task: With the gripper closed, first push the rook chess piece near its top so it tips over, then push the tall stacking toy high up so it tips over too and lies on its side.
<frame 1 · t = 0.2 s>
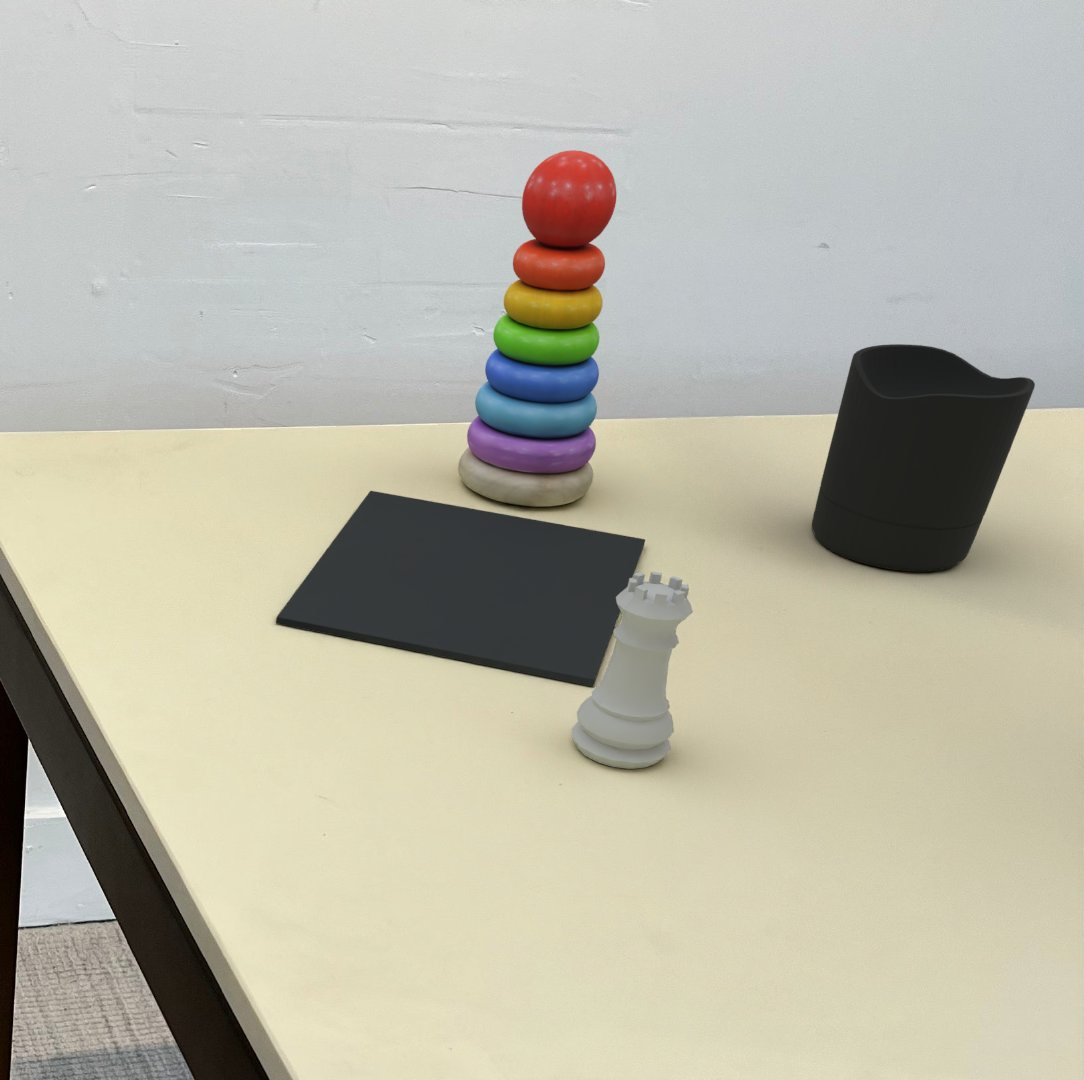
rook chess piece: (617, 752, 84), on the table
felt mat: (470, 582, 99), on the table
stacking toy: (521, 490, 111), on the table
pen holder: (885, 548, 106), on the table
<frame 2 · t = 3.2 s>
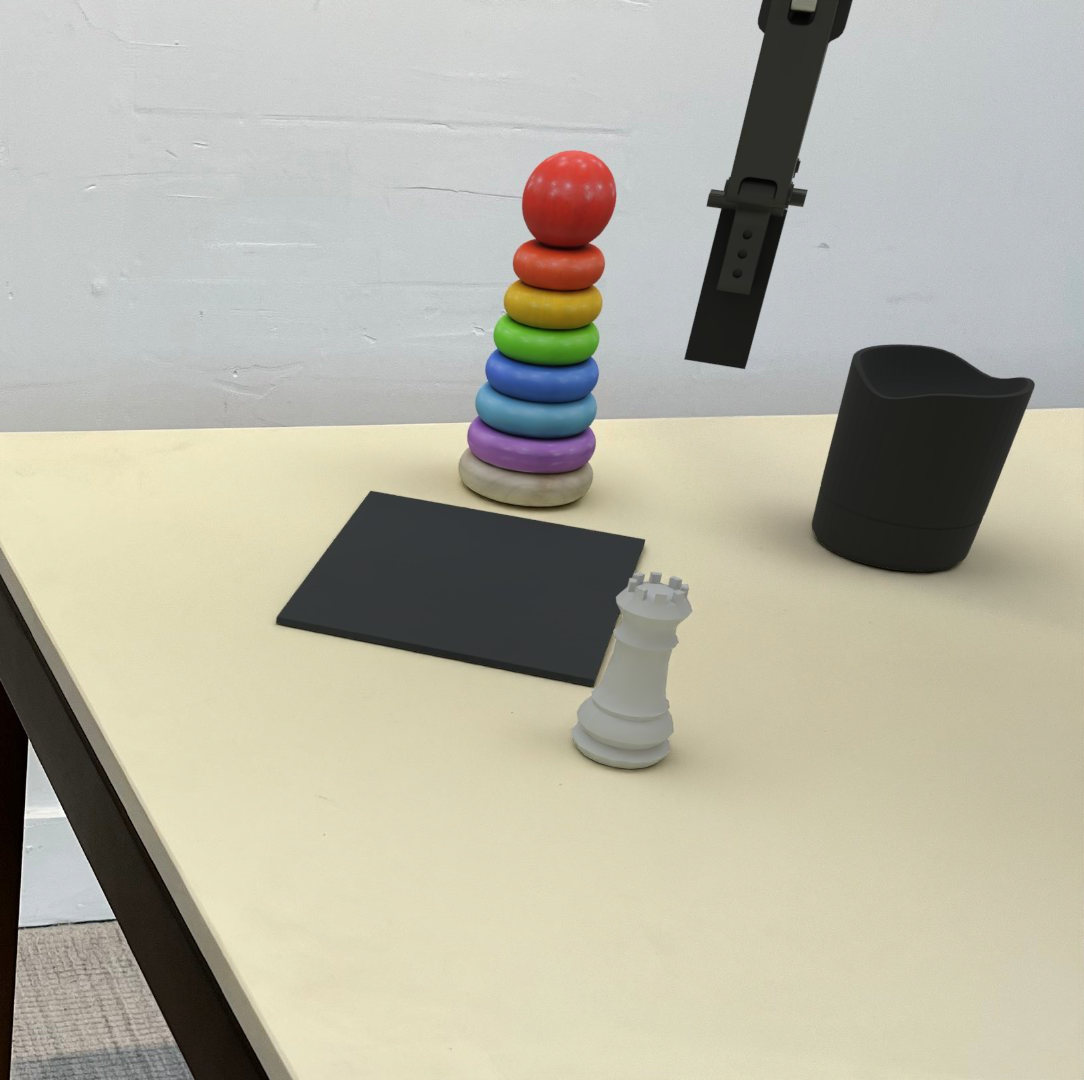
hand: (716, 359, 84), 15 cm above the table, tool pointing down, fingers closed
nothing on the table moved.
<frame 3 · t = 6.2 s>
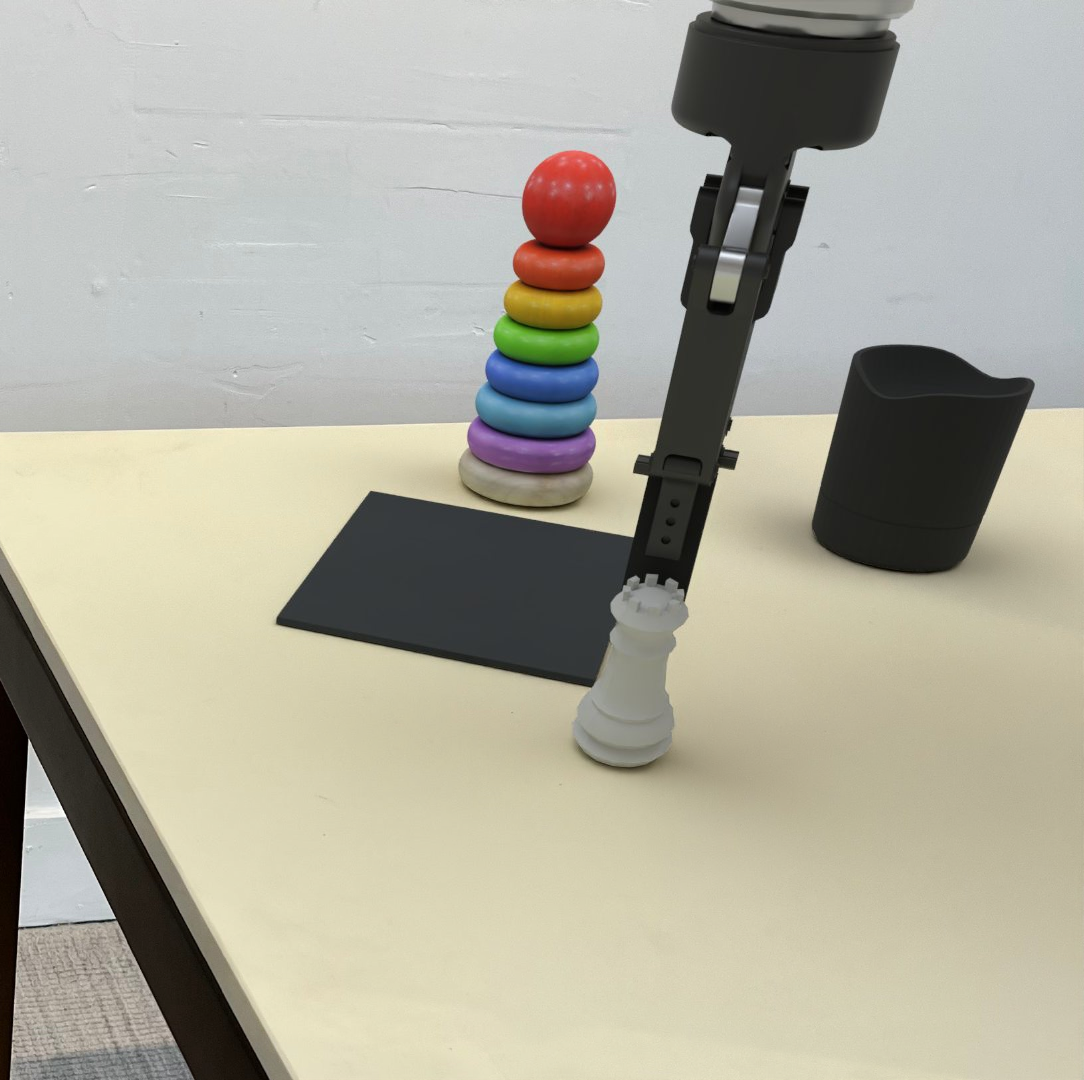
hand: (648, 616, 81), 6 cm above the table, tool pointing down, fingers closed
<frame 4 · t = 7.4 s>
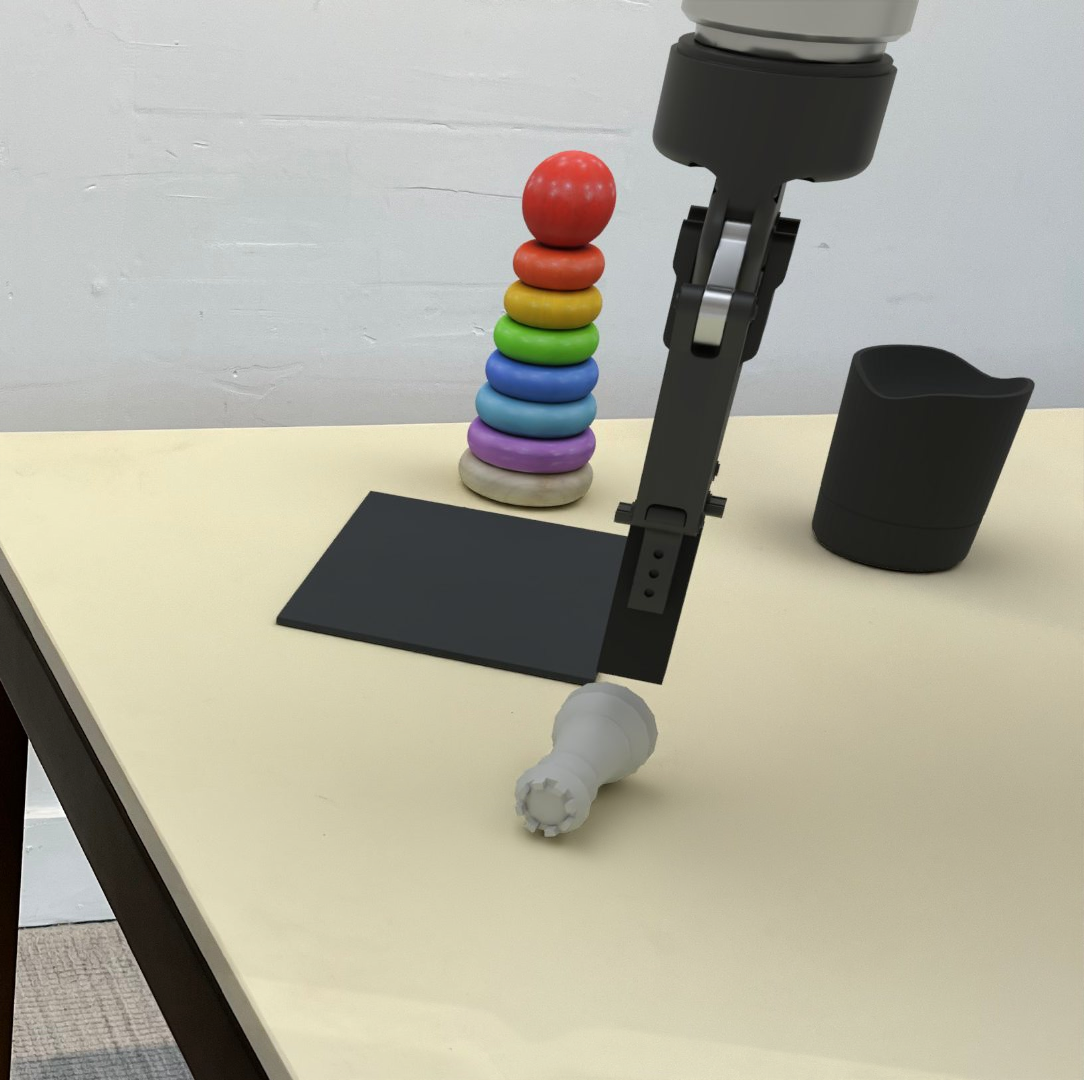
hand: (631, 671, 76), 6 cm above the table, tool pointing down, fingers closed
rook chess piece: (612, 721, 81), point 2 cm above the table
everything else where it was.
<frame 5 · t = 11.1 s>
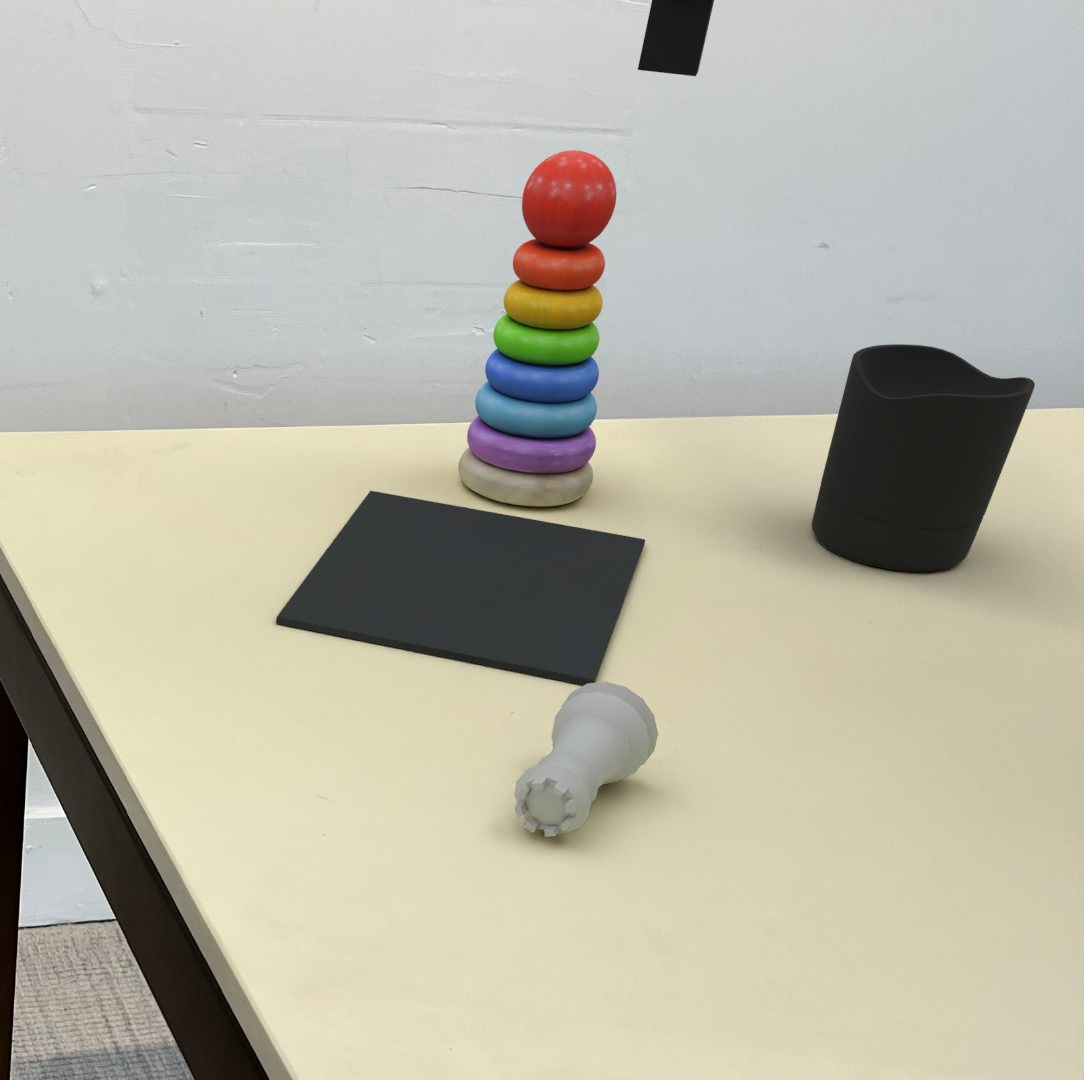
hand: (668, 70, 87), 25 cm above the table, tool pointing down, fingers closed
nothing on the table moved.
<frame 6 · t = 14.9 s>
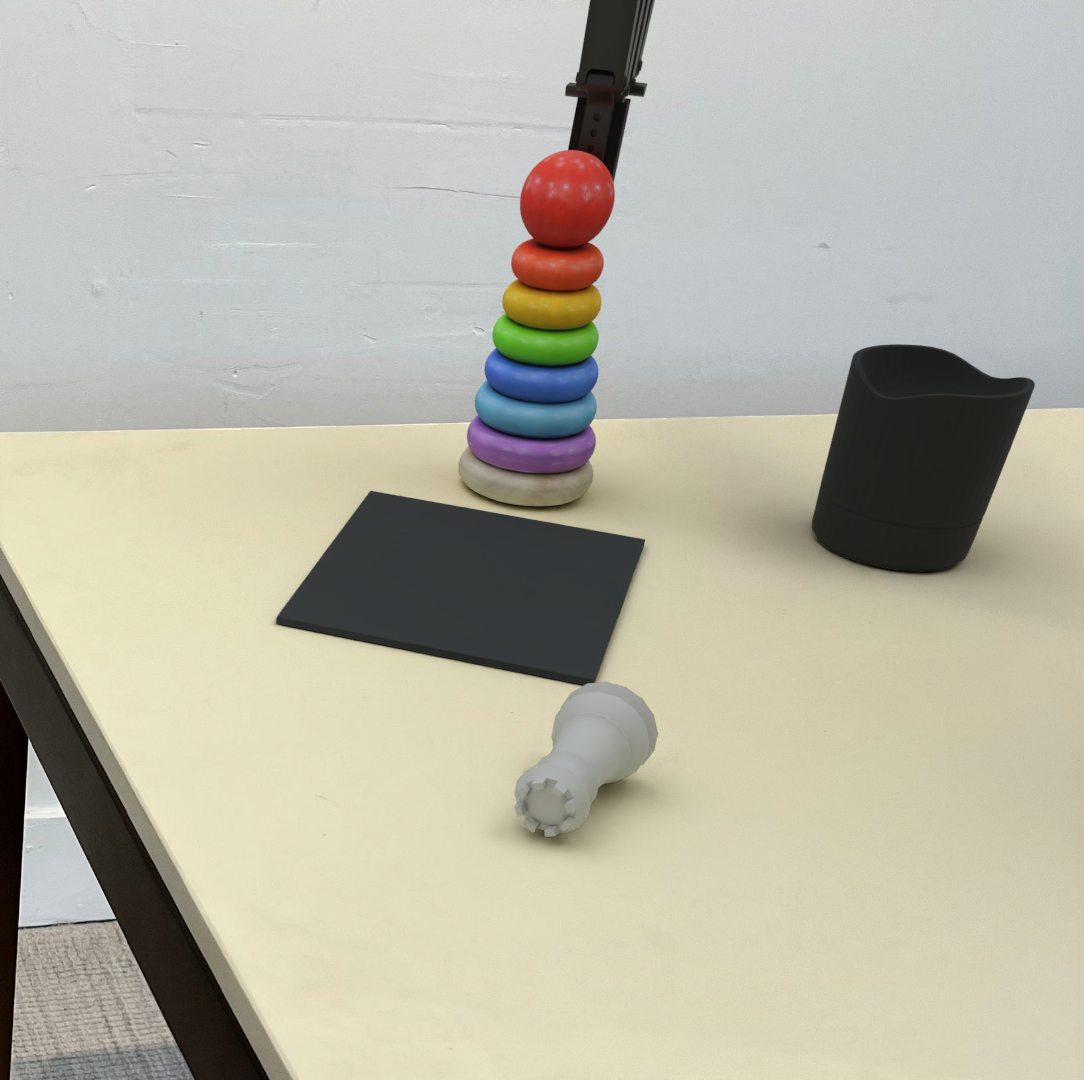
hand: (579, 222, 105), 14 cm above the table, tool pointing down, fingers closed
stacking toy: (521, 489, 111), on the table, touching gripper
everything else where it was.
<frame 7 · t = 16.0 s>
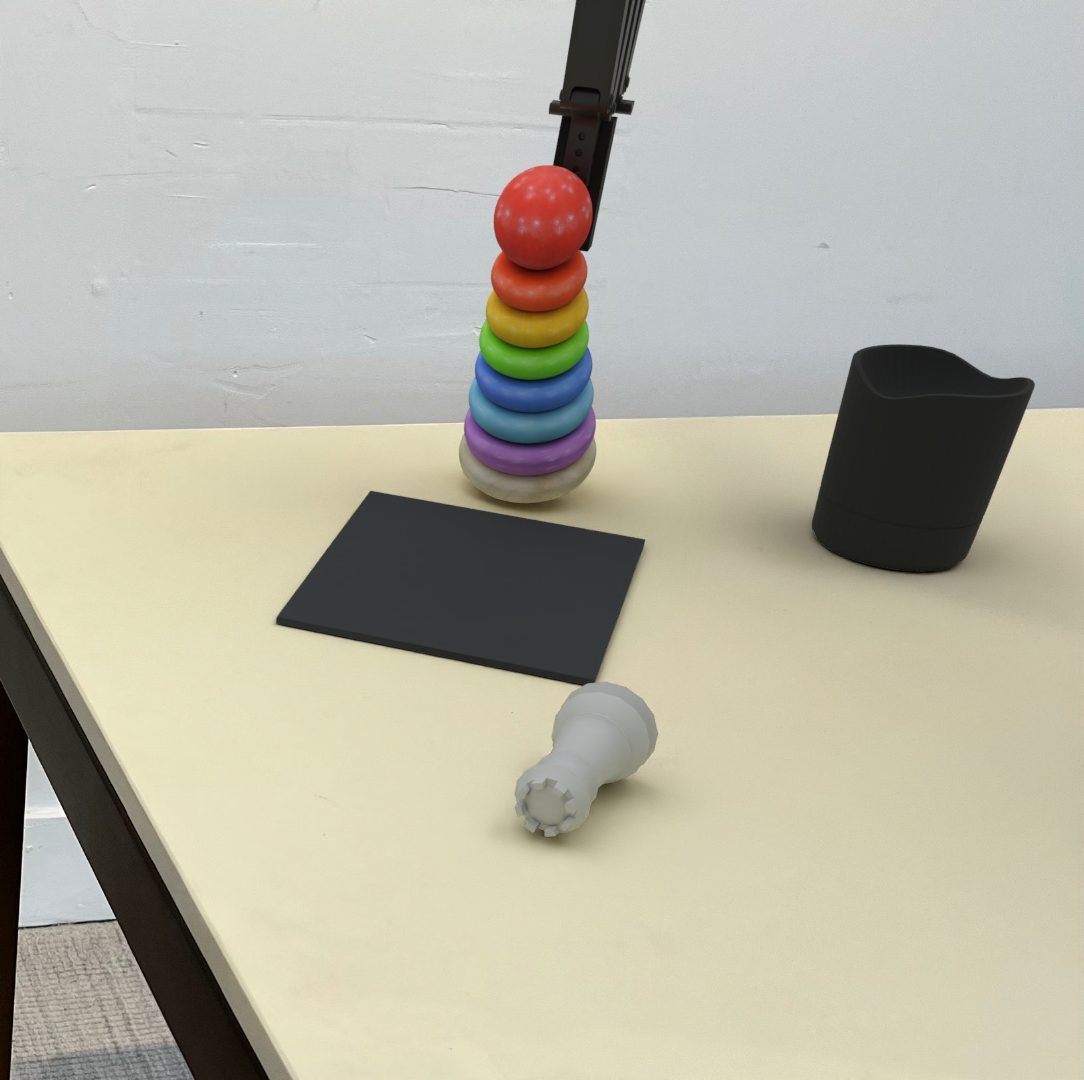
hand: (565, 244, 101), 14 cm above the table, tool pointing down, fingers closed
stacking toy: (525, 467, 110), point 1 cm above the table, touching gripper
everything else where it was.
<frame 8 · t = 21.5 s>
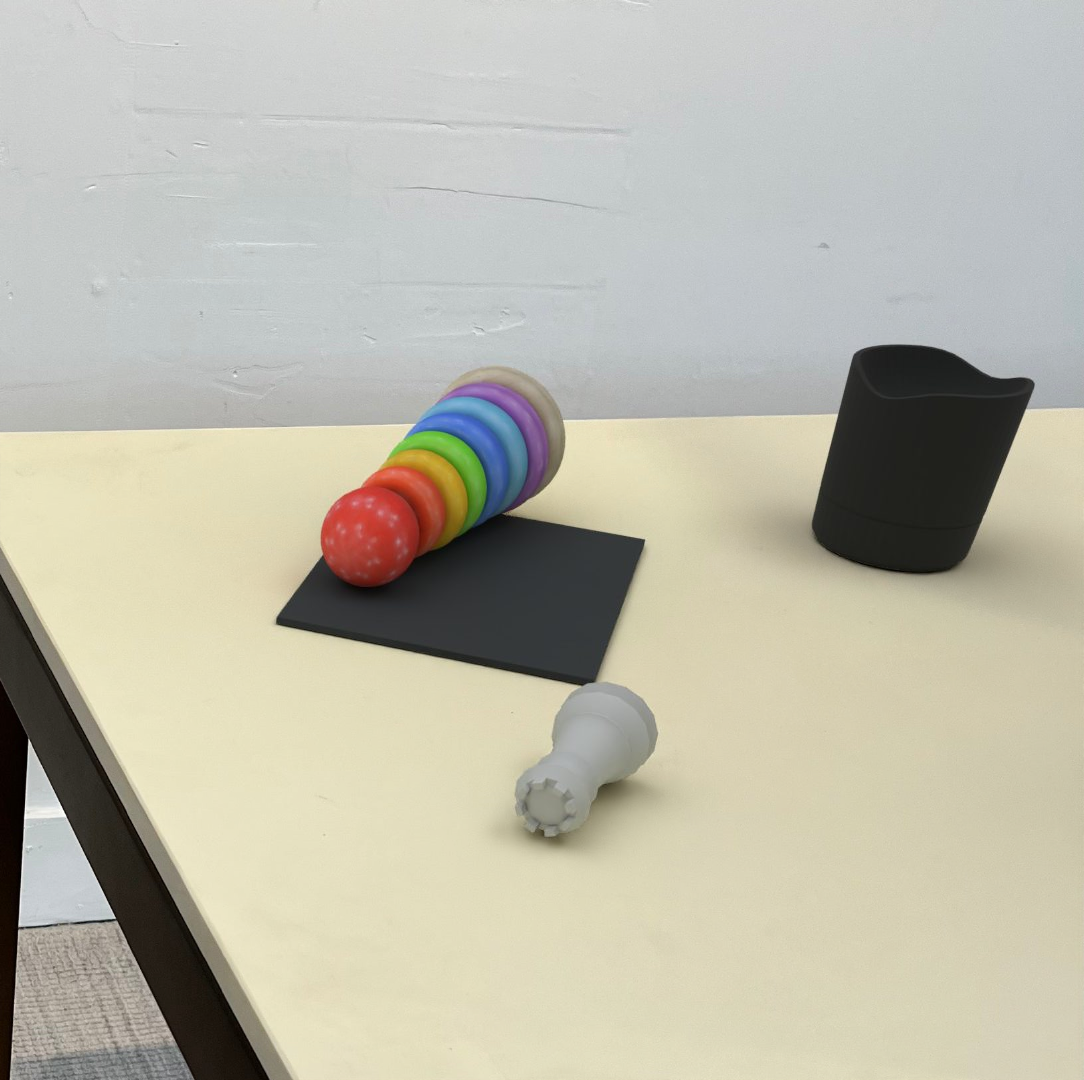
stacking toy: (505, 429, 106), point 5 cm above the table, touching felt mat
everything else where it was.
at the end: rook chess piece tilted 95°; stacking toy tilted 95° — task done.
